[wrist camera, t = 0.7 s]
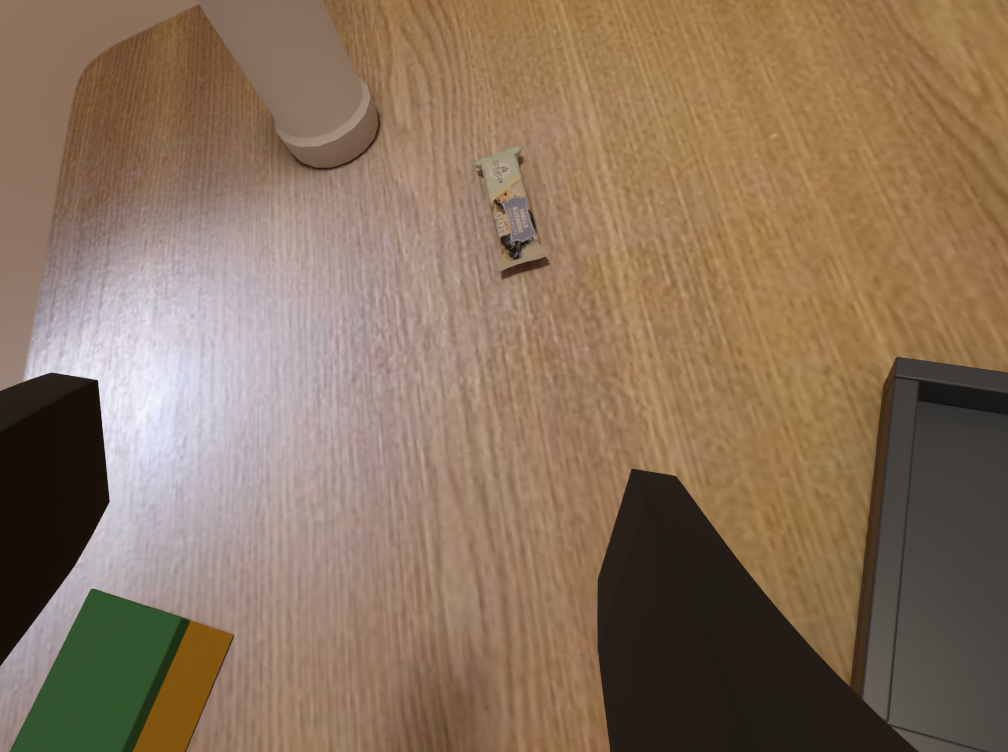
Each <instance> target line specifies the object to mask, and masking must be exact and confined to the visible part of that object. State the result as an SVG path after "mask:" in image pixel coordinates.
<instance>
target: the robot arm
mask: <svg viewBox="0 0 1008 752" xmlns="http://www.w3.org/2000/svg"><path fill="white" fill-rule="evenodd" d="M109 502H110V500H109V490H108V480H107V469H106V459H105V449H104V439H103V428H102V418H101V408H100V397H99V387H98V380H93V379H87V378H81V377H75V376H69V375H63V374H57V373H49V374H45V375H42V376H39V377H36V378H33V379H30V380H28V381H25V382H22V383H20V384H17V385H14V386H12V387H9V388H7V389H4V390H2V391H0V666H1V664H2V663H3V662H4V661H5V659H6V658H7V657H8V655H9V654H10V653H11V651H12V650H13V649H14V647H15V646H16V645H17V643H18V642H19V641H20V639H21V638H22V637H23V635H24V634H25V633H26V631H27V630H28V629H29V627H30V626H31V625H32V623H33V622H34V621H35V619H36V618H37V617H38V615H39V614H40V613H41V611H42V610H43V609H44V607H45V606H46V604H47V603H48V602H49V600H50V599H51V598H52V596H53V595H54V594H55V592H56V591H57V590H58V588H59V587H60V585H61V584H62V583H63V581H64V580H65V579H66V577H67V576H68V574H69V573H70V572H71V570H72V569H73V567H74V566H75V564H76V563H77V561H78V559H79V557H80V556H81V554H82V552H83V550H84V549H85V547H86V545H87V543H88V542H89V540H90V538H91V536H92V534H93V533H94V531H95V529H96V527H97V525H98V523H99V521H100V519H101V517H102V515H103V514H104V512H105V510H106V508H107V506H108V504H109ZM597 623H598V654H599V663H600V672H601V680H602V688H603V696H604V705H605V712H606V720H607V728H608V736H609V744H610V752H919V751H918V750H917V749H915V748H914V747H913V746H912V745H911V744H910V743H909V742H907V741H906V740H905V739H904V738H903V737H902V736H901V735H900V734H899V733H898V732H896V731H895V730H894V729H893V728H892V727H891V726H890V725H889V724H888V723H887V722H885V721H884V720H883V719H882V718H881V717H880V716H879V715H878V714H877V713H876V712H875V711H874V710H873V709H872V708H871V707H870V706H869V705H868V704H867V703H866V702H865V701H864V700H863V699H862V698H861V697H860V696H859V695H858V694H857V693H856V692H855V691H854V690H853V689H852V688H851V687H850V686H848V685H847V684H846V683H845V682H844V681H843V680H842V679H841V678H840V677H839V676H838V675H837V674H836V673H835V672H834V671H833V670H832V669H831V668H830V666H829V665H828V664H827V663H826V662H825V661H824V660H823V659H822V658H821V657H820V656H819V655H818V654H817V653H816V652H815V651H814V650H813V648H812V647H811V646H810V645H809V644H808V643H807V642H806V641H805V639H804V638H803V637H802V636H801V635H800V634H799V633H798V631H797V630H796V629H795V628H794V627H793V626H792V625H791V624H790V622H789V621H788V620H787V619H786V618H785V617H784V616H783V614H782V613H781V612H780V611H779V610H778V609H777V607H776V606H775V605H774V604H773V603H772V601H771V600H770V599H769V598H768V597H767V595H766V594H765V593H764V592H763V591H762V589H761V588H760V587H759V586H758V584H757V583H756V582H755V581H754V579H753V578H752V577H751V576H750V574H749V573H748V572H747V571H746V569H745V568H744V567H743V565H742V564H741V563H740V562H739V560H738V559H737V558H736V556H735V555H734V554H733V552H732V551H731V550H730V548H729V547H728V546H727V545H726V543H725V542H724V541H723V539H722V538H721V536H720V535H719V534H718V532H717V531H716V530H715V528H714V527H713V526H712V524H711V523H710V522H709V520H708V519H707V517H706V516H705V515H704V513H703V512H702V511H701V509H700V508H699V506H698V505H697V504H696V502H695V501H694V500H693V498H692V497H691V495H690V494H689V493H688V491H687V490H686V489H685V487H684V486H683V485H682V483H681V482H680V481H679V479H678V478H677V477H676V476H673V475H667V474H661V473H655V472H649V471H643V470H637V469H632V470H631V473H630V476H629V480H628V483H627V486H626V489H625V493H624V496H623V499H622V502H621V506H620V509H619V512H618V515H617V519H616V522H615V525H614V528H613V532H612V535H611V538H610V541H609V545H608V548H607V551H606V555H605V558H604V561H603V564H602V568H601V571H600V574H599V577H598V611H597Z"/></svg>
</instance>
